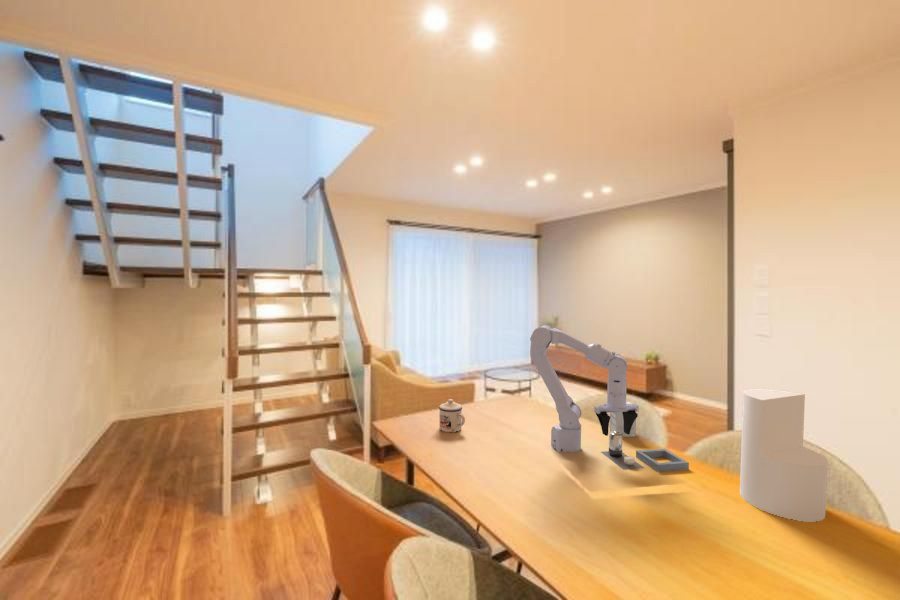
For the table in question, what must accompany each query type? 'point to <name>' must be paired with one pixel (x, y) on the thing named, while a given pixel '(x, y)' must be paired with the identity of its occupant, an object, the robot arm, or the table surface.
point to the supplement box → (621, 424)
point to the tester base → (622, 461)
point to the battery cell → (615, 444)
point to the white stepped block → (780, 457)
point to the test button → (629, 460)
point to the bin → (666, 466)
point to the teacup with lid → (451, 416)
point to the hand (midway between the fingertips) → (616, 433)
